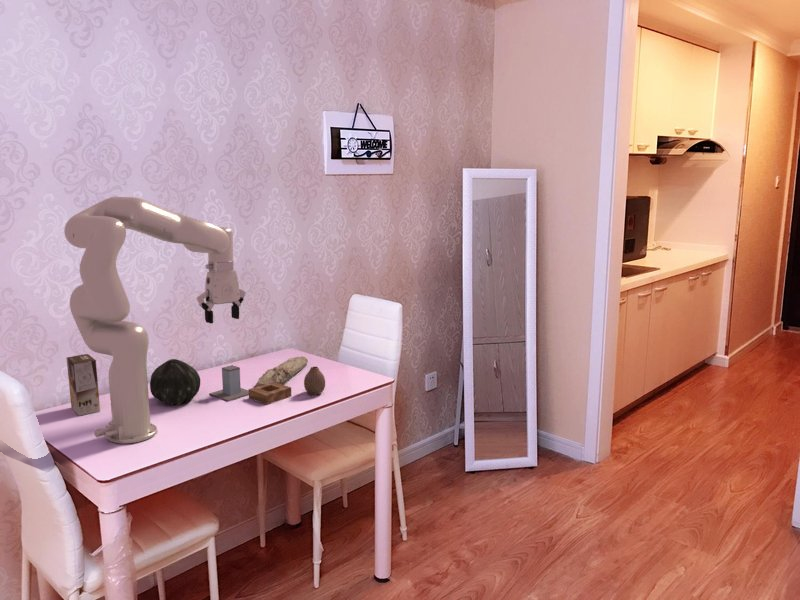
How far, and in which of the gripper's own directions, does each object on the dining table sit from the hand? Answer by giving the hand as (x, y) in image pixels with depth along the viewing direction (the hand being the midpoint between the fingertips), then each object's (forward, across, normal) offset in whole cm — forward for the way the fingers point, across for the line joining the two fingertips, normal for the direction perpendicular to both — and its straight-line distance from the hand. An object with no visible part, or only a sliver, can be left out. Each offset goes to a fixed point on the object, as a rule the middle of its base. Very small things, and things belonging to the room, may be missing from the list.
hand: (222, 320), depth 205 cm
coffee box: (+26, -35, +21) cm, 48 cm away
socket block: (+24, +8, -13) cm, 29 cm away
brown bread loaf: (+25, +26, +2) cm, 36 cm away
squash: (+25, -13, +7) cm, 29 cm away
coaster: (+25, +2, -1) cm, 25 cm away
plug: (+24, +2, -1) cm, 24 cm away
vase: (+24, +20, -21) cm, 38 cm away
